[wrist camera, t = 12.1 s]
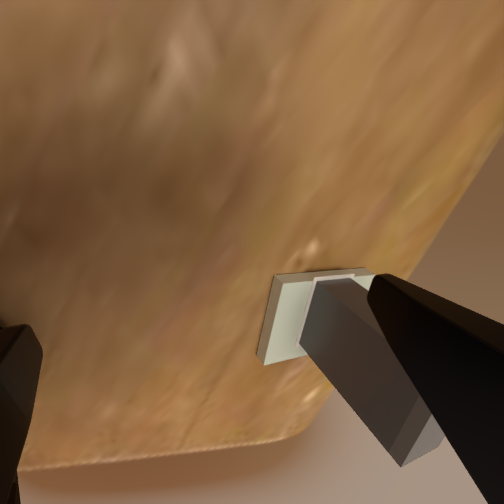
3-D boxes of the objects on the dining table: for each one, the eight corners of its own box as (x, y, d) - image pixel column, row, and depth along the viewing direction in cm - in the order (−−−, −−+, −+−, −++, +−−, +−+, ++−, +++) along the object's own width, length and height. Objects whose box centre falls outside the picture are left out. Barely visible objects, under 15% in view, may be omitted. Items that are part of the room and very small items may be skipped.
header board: (256, 354, 29) (276, 387, 26) (275, 271, 25) (301, 296, 22) (340, 336, 34) (366, 361, 31) (365, 264, 30) (398, 284, 27)
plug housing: (298, 343, 29) (400, 467, 19) (316, 281, 26) (446, 389, 16) (330, 336, 30) (437, 447, 21) (350, 277, 28) (484, 373, 18)
